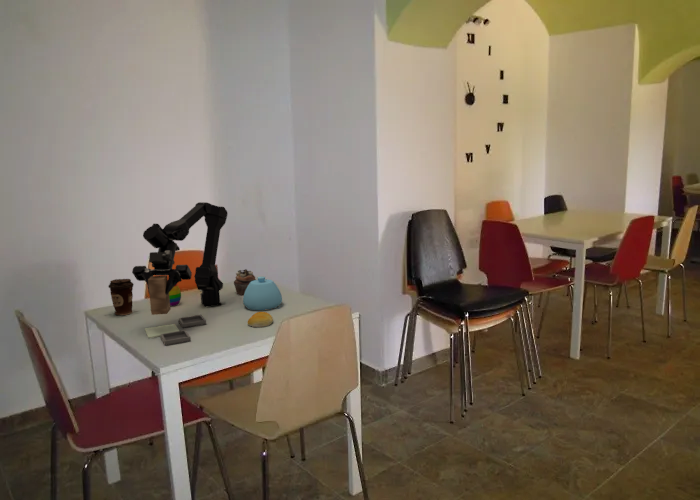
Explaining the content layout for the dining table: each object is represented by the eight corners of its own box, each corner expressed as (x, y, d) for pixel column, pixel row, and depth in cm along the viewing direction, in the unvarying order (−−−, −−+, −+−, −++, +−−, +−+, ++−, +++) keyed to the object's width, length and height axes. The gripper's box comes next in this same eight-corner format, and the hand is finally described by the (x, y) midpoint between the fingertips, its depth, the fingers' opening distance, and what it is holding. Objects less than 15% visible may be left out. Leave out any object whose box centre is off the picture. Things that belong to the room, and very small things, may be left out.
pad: (174, 325, 198) (174, 323, 198) (179, 333, 189) (179, 331, 189) (144, 330, 193) (144, 328, 193) (148, 338, 185) (148, 337, 185)
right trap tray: (201, 318, 205) (201, 314, 204) (206, 324, 197) (205, 320, 197) (178, 322, 201) (178, 318, 201) (182, 328, 194) (182, 324, 194)
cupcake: (262, 292, 239) (260, 269, 237) (244, 297, 232) (242, 273, 230) (247, 288, 246) (246, 266, 244) (229, 293, 238) (228, 270, 237)
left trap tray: (185, 334, 188) (185, 329, 188) (190, 341, 181) (190, 336, 180) (161, 338, 184) (160, 334, 184) (164, 345, 177) (164, 341, 177)
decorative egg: (173, 308, 219) (170, 283, 217) (156, 306, 222) (153, 281, 220) (186, 302, 227) (183, 278, 225) (169, 301, 230) (167, 277, 228)
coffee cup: (120, 318, 208) (116, 284, 206) (106, 315, 212) (102, 281, 210) (140, 311, 215) (137, 278, 213) (126, 309, 220) (123, 276, 217)
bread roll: (245, 328, 193) (244, 317, 192) (253, 320, 202) (253, 309, 201) (268, 328, 192) (267, 317, 191) (275, 320, 200) (275, 309, 200)
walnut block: (170, 309, 192) (167, 275, 190) (166, 313, 188) (163, 279, 185) (155, 310, 192) (152, 276, 190) (151, 314, 187) (147, 279, 185)
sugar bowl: (278, 299, 228) (276, 271, 226) (286, 308, 214) (284, 279, 212) (241, 303, 223) (239, 274, 221) (246, 313, 209) (244, 283, 207)
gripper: (131, 242, 190) (121, 282, 181) (186, 241, 189) (178, 281, 180) (142, 260, 199) (133, 299, 190) (194, 259, 198) (188, 298, 190)
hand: (157, 294), depth 187 cm, fingers closed on walnut block, 5 cm apart
